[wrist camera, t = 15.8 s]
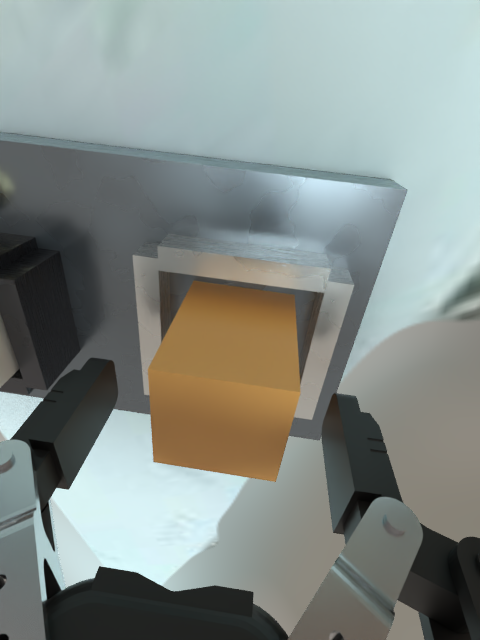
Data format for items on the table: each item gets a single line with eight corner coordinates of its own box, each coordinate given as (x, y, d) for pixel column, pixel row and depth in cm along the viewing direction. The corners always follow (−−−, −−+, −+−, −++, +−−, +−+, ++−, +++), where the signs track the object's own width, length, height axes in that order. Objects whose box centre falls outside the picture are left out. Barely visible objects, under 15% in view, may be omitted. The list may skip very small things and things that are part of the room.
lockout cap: (191, 358, 17) (153, 461, 12) (193, 280, 15) (147, 369, 10) (277, 371, 17) (275, 481, 12) (294, 294, 15) (300, 392, 10)
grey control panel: (-16, 364, 22) (-87, 424, 18) (-119, 117, 14) (-282, 121, 10) (316, 414, 21) (325, 489, 17) (391, 179, 14) (440, 212, 9)
